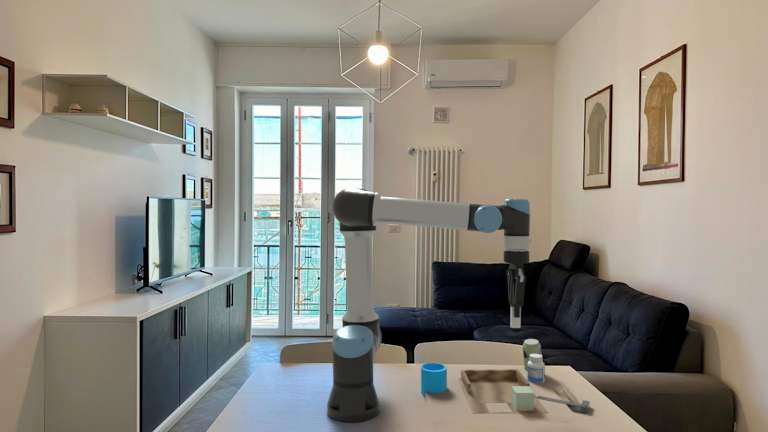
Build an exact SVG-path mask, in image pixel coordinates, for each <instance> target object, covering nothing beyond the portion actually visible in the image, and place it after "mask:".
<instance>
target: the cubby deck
mask: <svg viewBox="0 0 768 432" xmlns="http://www.w3.org/2000/svg"><path fill="white" fill-rule="evenodd" d="M457 379H458V382H459V385H460V386H461V390H462V391H463V395H464V397H465V398H466V401H467V403H468V405H469V408H470V411H471V412H472V414H549V412H548V411H547V409H546V408H545V406H544V405H543V404H542V403H541V401H539V400H540V399H538V398H537V396H535V394H534V411H516V410H515V408H514V406H513V405H512V386H529V387H530V386H531V384H530V381H528V379H526V377H525V376H524V375H523V373H521V371H520V370H519V369H518V368H517V369H516V368H509V369H508V368H503V369H502V368H501V369H499V368H498V369H497V368H495V369H493V368H491V369H487V368H484V369H481V368H480V369H471V368H470V369H467V368H465V369H464V368H463V369H460V378H457ZM530 388H531V387H530ZM492 403H493V404H502V403H503V404H507V405H508V407H509V409H510V411H509V412H508V411H507V412H502V411H501V412H500V411H499V412H492V411H489V408H488V406H487V404H492Z"/></svg>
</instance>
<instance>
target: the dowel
mask: <svg viewBox="0 0 768 432" xmlns="http://www.w3.org/2000/svg"><path fill="white" fill-rule="evenodd" d="M562 394H563V395H564V396H565V397H566V398H567V399H568V402H573V403H578V404H582V402H580V401H579V399H578V398H576V396H575V395H574V394H573V393H572V392H571V390H570V389H569V388H562Z"/></svg>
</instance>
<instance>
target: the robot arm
mask: <svg viewBox="0 0 768 432" xmlns="http://www.w3.org/2000/svg"><path fill="white" fill-rule="evenodd" d="M530 205H531V204H530V201H529V200H528V199H526V198H507V199H504V202H503V205H502V204H500V205H494V204H478V203H468V202H467V203H466V202H465V203H464V202H452V201H442V200H441V201H440V200H439V201H438V200H427V199H418V198H417V199H415V198H403V197H390V196H381V194H379V193H378V192H373V191H369V190H366V189H365V188H357V187H346V188H344V189H342V190H340V191H339V192H338V193H337V194H336V195H335V197H334V198H333V200H332V212H333V216H334V218H335V219H336V220H337V221H338V223H339V225H338V226H339V233H340V234H341V235H342V236H343V237H344V259H345V260H344V261H345V287H346V288H345V290H346V291H345V293H346V312H345V313H344V315H343V316H342V317H341V319H342V321H341V322H342V325H341V326H342V327H340V328H338V329H336V331H334V333H333V336H332V343H331V347H332V386H331V391H330V395H329V397H328V400H327V404H326V405H327V406H326V407H327V409H326V413H327V415H328V416H329V417H330V418H332V419H333V420H336V421H339V422H345V423H356V422H357V423H358V422H359V423H360V422H365V421H368V420H372V419H373V418H375V417H376V416H377V415H378V414H379V413H380V399H379V397H378V394H377V390H376V387H375V384H374V358H375V356H376V354H377V352H378V350H379V349H380V347H381V344H382V338H383V337H382V335H383V334H382V330H381V328H380V316H379V314H377V313H376V312H375V307H374V306H375V305H374V304H375V303H374V301H375V299H374V271H373V270H374V268H373V265H374V264H373V238H372V237H373V235H374V234H375V233H376V232H377V225H378V224H389V225H400V226H401V225H402V226H411V227H412V226H413V227H426V228H435V229H436V228H437V229H448V230H449V229H450V230H460V231H470V232H480V233H483V234H491V233H494V232H496V231H503V249H504V251H503V262H504V263H505V264H509V268H508V269H506V277H507V293H508V296H507V298H508V302H509V307H510V316H509V317H510V320H509V321H510V322H509V324H510V326H509V327H510V328H511V329H521V326H522V325H521V324H522V323H521V321H522V320H521V316H522V314H521V313H522V307H523V306H524V301H525V287H526V281H527V275H525V269H524V265H526V264H529V263H530V251H529V249H530V243H531V242H532V239H531V238H530V233H531V232H530V231H531V229H530V227H531V225H530V223H531V210H530Z"/></svg>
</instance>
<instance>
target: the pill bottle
mask: <svg viewBox="0 0 768 432" xmlns="http://www.w3.org/2000/svg"><path fill="white" fill-rule="evenodd" d="M545 366H546V365H545V362H543V355H542V354H541V355H540V354H530V361H528V371H527V381H528V382H529V383H534V384H544V383H545V382H546V380H545V379H546V377H545V373H546V368H545Z"/></svg>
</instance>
